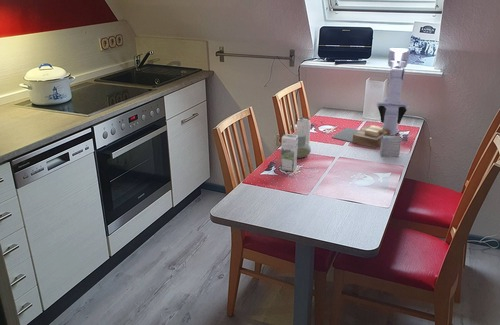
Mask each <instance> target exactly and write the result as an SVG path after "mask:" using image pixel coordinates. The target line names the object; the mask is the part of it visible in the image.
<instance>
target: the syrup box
mask: <svg viewBox="0 0 500 325" xmlns="http://www.w3.org/2000/svg"><path fill="white" fill-rule="evenodd" d="M297 147H298V135H293V134H291V133H290V134H288V133H284V134H283V135H282V137H281V148H280V149H281V150H280V171H287V172H295V170H296V168H297V164H298V163H297V162H298V161H297V160H298V158H297Z"/></svg>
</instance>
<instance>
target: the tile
mask: <svg viewBox="0 0 500 325" xmlns="http://www.w3.org/2000/svg"><path fill="white" fill-rule="evenodd" d="M369 126H370V127H369V128H367V129H366V130H365V134H367V135H372V136H378V135H379V134H381V133H382V132H383V131H384V128H383V127H382V126H379V125H374V124H372V125H369Z"/></svg>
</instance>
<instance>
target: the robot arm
mask: <svg viewBox="0 0 500 325" xmlns="http://www.w3.org/2000/svg"><path fill="white" fill-rule="evenodd" d="M409 57H410V48H397V47H396V48H394V47H390V48H389V50H388V61H387V65H388V67H390V69H389V76H388V84H389V85H388V88H387V97H384V98H383V100H382V101H381V102H380V101H379V102H376V107H377V109H378V112H379V116H380V122H381V123H382V125H381V127H383V128H384V129H389V130H390V136H396V134H397V133H399V132H400V129H399V125H400V124H401V122H402V120H403V117H404V115H405V114H406V112H407V111H408V109H410V104H409V103H403V100H402V99H401V93H402V87H403V86H402V85H403V81H404V78H405V70H406V69H405V68H407V65H408V63H409V62H408V61H409Z"/></svg>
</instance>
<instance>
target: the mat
mask: <svg viewBox="0 0 500 325" xmlns="http://www.w3.org/2000/svg"><path fill="white" fill-rule="evenodd" d="M360 130H361V129H360ZM360 130H359V129H354V128H350V127H345V128H344V129H342V130H341V131H339V132H338V133H336V134H334V135H332V136H331V139H335V140H339V141H343V142H349V143H352V141H353V135H354V134H355V133H357V132H358V131H360Z"/></svg>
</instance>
